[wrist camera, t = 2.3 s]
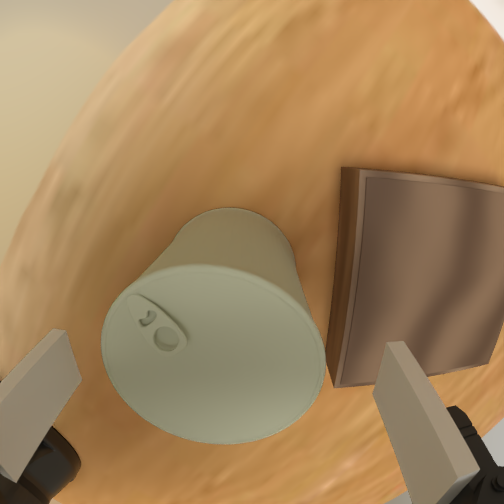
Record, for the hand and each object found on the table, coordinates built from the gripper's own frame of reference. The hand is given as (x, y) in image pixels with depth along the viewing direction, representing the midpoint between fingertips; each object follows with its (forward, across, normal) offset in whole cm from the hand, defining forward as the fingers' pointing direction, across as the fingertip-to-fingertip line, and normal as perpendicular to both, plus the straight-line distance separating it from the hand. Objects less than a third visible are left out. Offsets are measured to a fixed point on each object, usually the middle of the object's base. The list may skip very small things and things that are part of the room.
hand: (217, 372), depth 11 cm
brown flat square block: (+12, +14, 0) cm, 19 cm away
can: (+12, 0, 0) cm, 12 cm away
